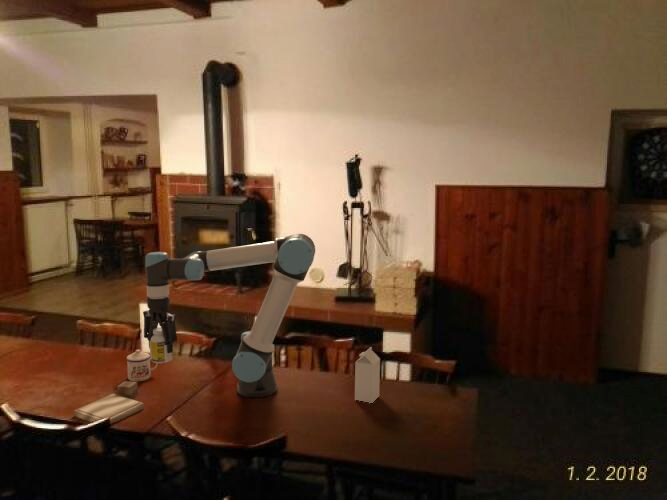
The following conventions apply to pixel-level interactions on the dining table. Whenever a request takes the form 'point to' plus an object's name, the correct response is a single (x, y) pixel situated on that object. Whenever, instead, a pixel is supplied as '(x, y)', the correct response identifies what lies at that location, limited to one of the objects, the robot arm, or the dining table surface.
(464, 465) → the dining table surface
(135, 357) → the teacup with lid
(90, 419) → the beech board
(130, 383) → the walnut cube
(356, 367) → the milk carton
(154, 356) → the pill bottle
